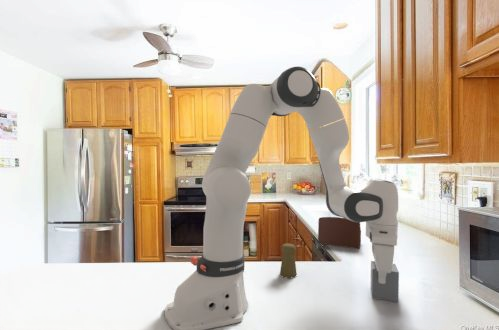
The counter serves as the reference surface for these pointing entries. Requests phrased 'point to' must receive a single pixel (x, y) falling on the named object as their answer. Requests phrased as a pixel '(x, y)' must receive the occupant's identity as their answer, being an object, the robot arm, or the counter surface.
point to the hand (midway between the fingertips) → (380, 276)
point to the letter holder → (339, 232)
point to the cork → (288, 261)
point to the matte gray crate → (389, 288)
